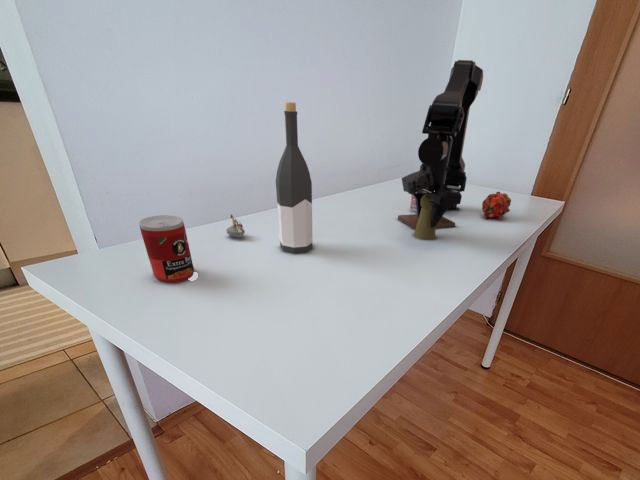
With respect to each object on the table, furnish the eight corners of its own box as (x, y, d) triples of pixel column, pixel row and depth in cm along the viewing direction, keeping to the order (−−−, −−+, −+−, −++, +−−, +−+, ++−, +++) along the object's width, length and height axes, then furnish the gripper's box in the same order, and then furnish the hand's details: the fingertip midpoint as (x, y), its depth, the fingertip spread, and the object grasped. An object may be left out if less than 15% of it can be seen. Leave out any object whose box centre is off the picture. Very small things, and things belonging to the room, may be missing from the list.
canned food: (171, 287, 70) (156, 230, 64) (145, 276, 74) (128, 221, 67) (203, 274, 76) (192, 220, 69) (178, 264, 79) (165, 212, 72)
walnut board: (435, 216, 119) (435, 212, 118) (454, 226, 111) (455, 222, 110) (397, 219, 114) (397, 215, 114) (414, 230, 106) (415, 226, 105)
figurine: (223, 236, 94) (220, 212, 91) (238, 233, 97) (235, 209, 93) (235, 242, 92) (231, 217, 88) (250, 238, 94) (247, 214, 91)
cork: (436, 240, 100) (445, 198, 93) (415, 239, 100) (421, 197, 93) (433, 233, 105) (440, 192, 98) (412, 232, 105) (418, 191, 98)
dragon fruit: (501, 219, 126) (485, 231, 119) (485, 200, 126) (469, 211, 119) (520, 201, 119) (505, 214, 112) (504, 182, 119) (488, 193, 112)
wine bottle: (299, 240, 95) (294, 101, 77) (319, 248, 90) (318, 104, 73) (273, 246, 90) (261, 100, 73) (293, 256, 86) (286, 103, 68)
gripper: (391, 154, 95) (385, 215, 104) (429, 167, 81) (417, 236, 90) (428, 154, 99) (418, 213, 108) (469, 167, 85) (455, 233, 94)
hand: (426, 223), depth 100 cm, fingers closed on cork, 6 cm apart
